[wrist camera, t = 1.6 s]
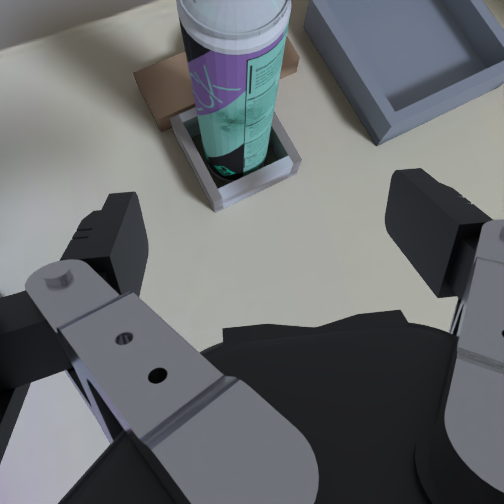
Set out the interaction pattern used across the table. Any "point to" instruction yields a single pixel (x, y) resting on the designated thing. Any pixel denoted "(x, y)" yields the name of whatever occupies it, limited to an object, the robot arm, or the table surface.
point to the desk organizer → (187, 126)
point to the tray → (407, 57)
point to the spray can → (234, 77)
